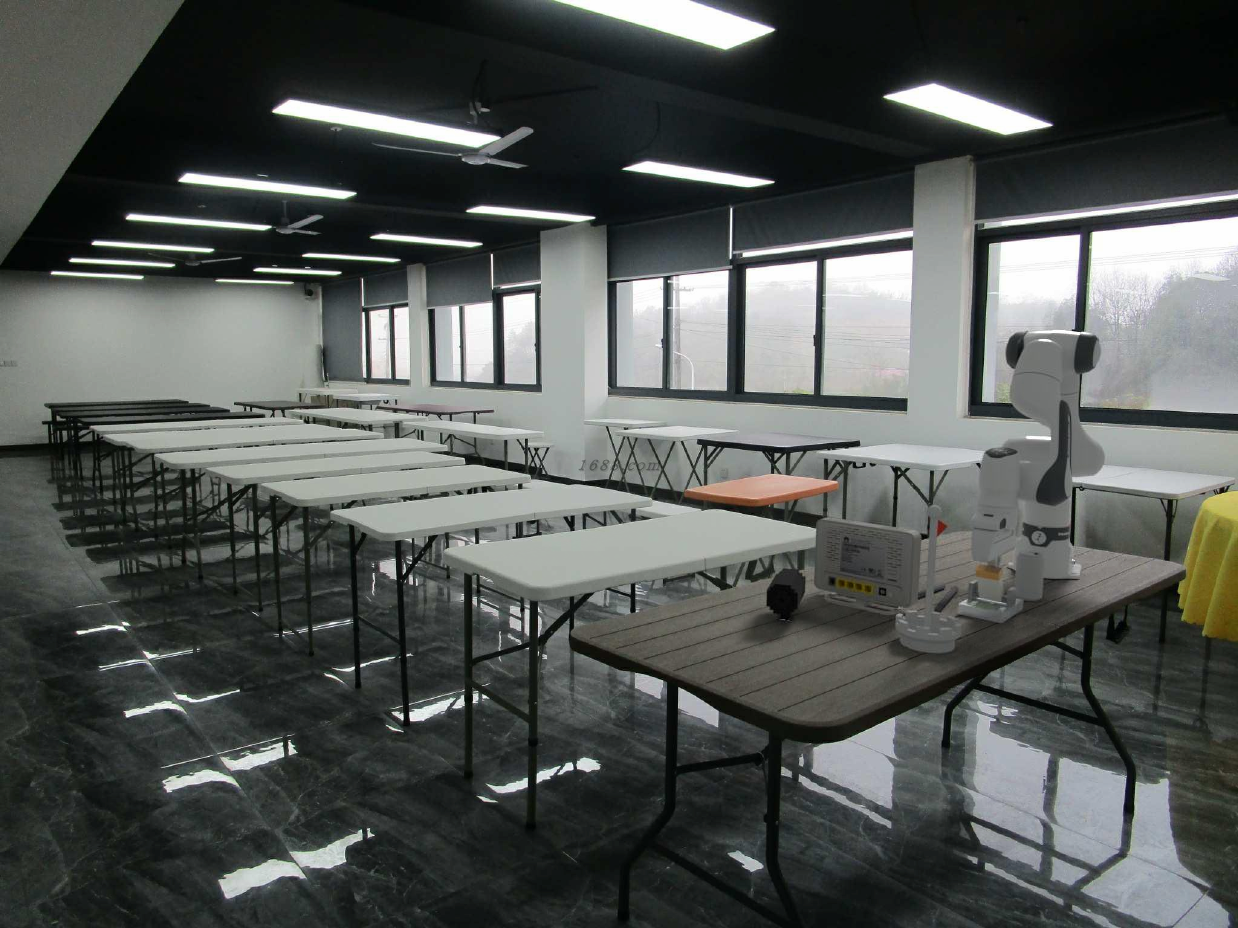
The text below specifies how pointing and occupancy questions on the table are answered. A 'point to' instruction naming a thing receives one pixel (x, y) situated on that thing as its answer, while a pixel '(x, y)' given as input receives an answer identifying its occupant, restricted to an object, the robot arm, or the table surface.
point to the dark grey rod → (946, 599)
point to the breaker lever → (990, 583)
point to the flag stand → (929, 607)
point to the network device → (867, 563)
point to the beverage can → (1029, 575)
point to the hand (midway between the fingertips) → (993, 573)
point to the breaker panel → (990, 605)
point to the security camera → (786, 592)
